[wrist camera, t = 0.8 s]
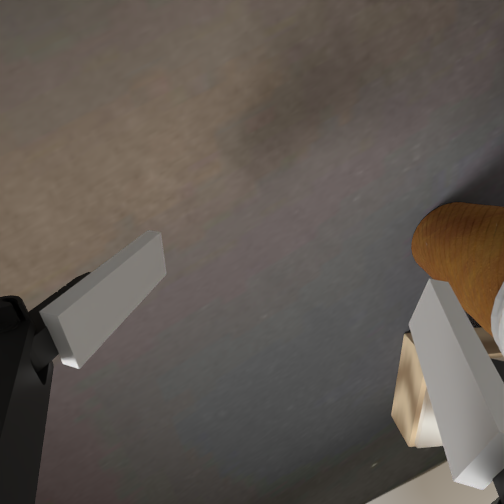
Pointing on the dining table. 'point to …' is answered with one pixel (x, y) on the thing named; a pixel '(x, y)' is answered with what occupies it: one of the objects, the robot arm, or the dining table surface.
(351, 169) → the dining table surface
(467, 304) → the disposable coffee cup
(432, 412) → the plinth
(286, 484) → the dining table surface
